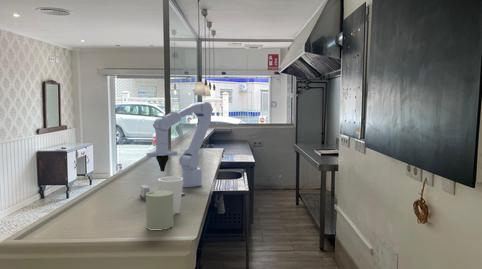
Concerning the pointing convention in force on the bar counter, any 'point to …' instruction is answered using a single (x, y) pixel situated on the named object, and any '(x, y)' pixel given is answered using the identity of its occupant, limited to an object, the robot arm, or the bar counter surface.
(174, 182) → the foam cup
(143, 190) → the plate
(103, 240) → the bar counter surface
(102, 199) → the bar counter surface
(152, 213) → the can
